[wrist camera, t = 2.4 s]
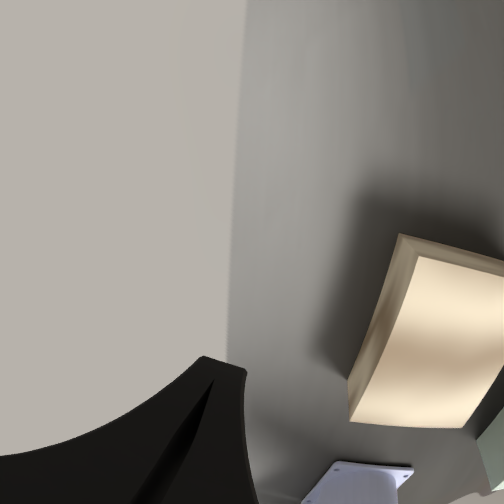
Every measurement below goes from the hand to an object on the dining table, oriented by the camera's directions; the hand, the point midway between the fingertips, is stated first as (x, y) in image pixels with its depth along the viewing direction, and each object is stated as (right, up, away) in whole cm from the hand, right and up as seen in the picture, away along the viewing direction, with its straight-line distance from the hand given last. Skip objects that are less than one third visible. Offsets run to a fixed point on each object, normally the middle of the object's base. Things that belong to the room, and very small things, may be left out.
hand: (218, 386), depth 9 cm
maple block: (+12, 0, +8) cm, 14 cm away
